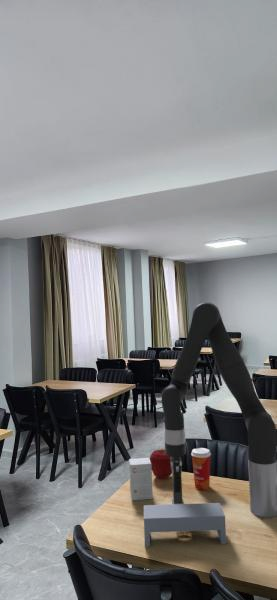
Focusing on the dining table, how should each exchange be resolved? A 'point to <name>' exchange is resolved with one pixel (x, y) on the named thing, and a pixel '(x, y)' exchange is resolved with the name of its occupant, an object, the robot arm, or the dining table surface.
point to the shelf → (184, 519)
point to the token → (184, 536)
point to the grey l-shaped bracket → (177, 494)
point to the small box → (140, 479)
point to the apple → (160, 464)
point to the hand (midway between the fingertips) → (176, 488)
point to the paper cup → (201, 468)
